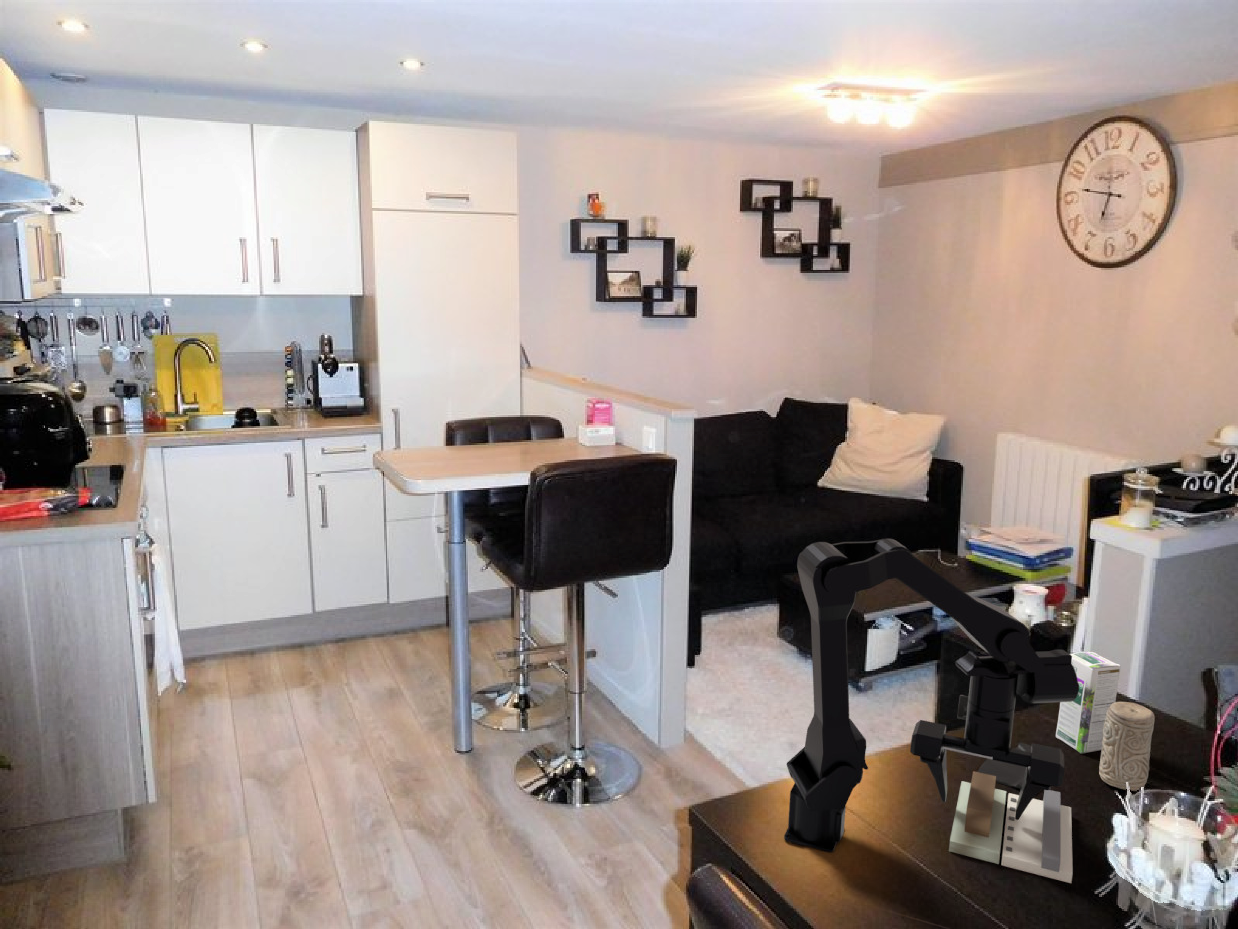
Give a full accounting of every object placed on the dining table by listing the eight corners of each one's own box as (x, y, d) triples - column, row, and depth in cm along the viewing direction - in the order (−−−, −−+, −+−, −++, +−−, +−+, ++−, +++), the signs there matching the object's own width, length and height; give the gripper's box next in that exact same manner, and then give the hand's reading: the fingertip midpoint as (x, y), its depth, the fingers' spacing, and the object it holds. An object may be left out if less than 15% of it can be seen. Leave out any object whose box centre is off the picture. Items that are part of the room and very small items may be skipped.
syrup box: (1054, 737, 150) (1064, 653, 147) (1083, 732, 151) (1093, 649, 148) (1080, 754, 144) (1092, 668, 141) (1110, 749, 146) (1122, 664, 143)
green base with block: (948, 851, 119) (952, 816, 118) (960, 790, 133) (963, 759, 132) (998, 864, 117) (1002, 828, 116) (1005, 800, 131) (1008, 768, 130)
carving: (1150, 781, 137) (1161, 706, 135) (1140, 802, 131) (1151, 725, 129) (1103, 766, 141) (1113, 693, 138) (1091, 787, 135) (1101, 711, 133)
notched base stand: (1000, 868, 116) (1003, 846, 115) (1007, 801, 131) (1009, 781, 131) (1071, 886, 113) (1074, 864, 112) (1069, 815, 128) (1072, 795, 127)
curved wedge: (1061, 764, 142) (1063, 755, 142) (1029, 799, 132) (1031, 789, 132) (1007, 745, 148) (1008, 736, 147) (972, 778, 138) (973, 768, 138)
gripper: (1069, 692, 125) (1056, 797, 128) (925, 666, 132) (916, 765, 135) (1069, 728, 115) (1055, 840, 118) (914, 697, 122) (905, 803, 126)
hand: (979, 809), depth 124 cm, fingers open, 9 cm apart
